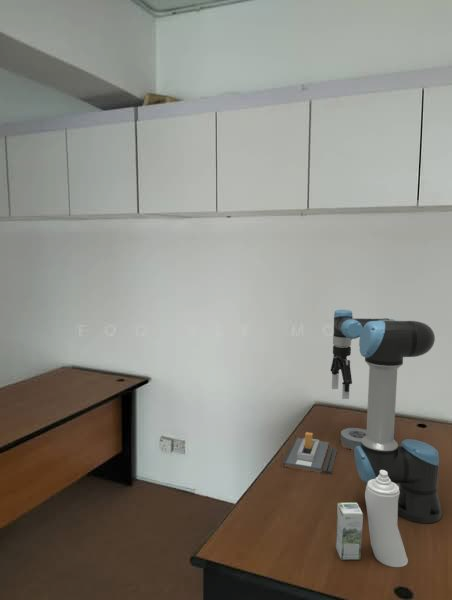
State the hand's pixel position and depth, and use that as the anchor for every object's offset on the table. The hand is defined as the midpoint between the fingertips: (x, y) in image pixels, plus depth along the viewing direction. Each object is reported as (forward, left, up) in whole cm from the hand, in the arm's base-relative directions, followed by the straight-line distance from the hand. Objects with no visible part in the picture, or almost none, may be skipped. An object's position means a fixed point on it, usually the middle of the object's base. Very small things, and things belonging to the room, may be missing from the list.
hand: (340, 393), depth 201 cm
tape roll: (+7, -8, -25) cm, 27 cm away
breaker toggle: (-13, +11, -23) cm, 28 cm away
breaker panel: (-13, +10, -25) cm, 30 cm away
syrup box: (-72, -10, -25) cm, 77 cm away
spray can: (-69, -20, -25) cm, 76 cm away
